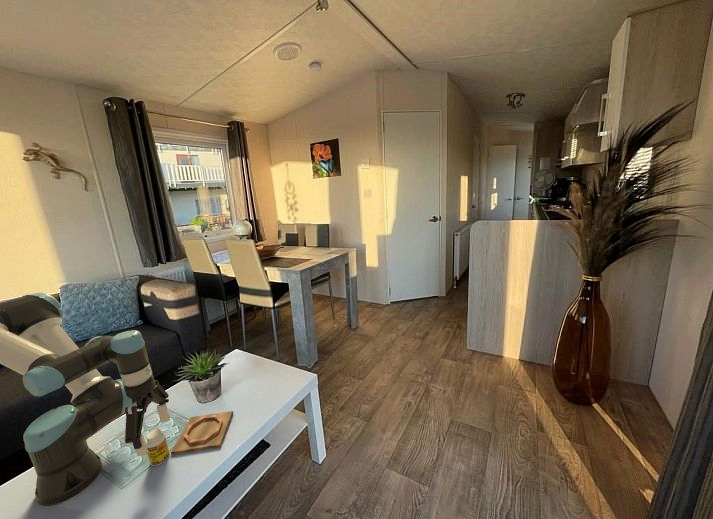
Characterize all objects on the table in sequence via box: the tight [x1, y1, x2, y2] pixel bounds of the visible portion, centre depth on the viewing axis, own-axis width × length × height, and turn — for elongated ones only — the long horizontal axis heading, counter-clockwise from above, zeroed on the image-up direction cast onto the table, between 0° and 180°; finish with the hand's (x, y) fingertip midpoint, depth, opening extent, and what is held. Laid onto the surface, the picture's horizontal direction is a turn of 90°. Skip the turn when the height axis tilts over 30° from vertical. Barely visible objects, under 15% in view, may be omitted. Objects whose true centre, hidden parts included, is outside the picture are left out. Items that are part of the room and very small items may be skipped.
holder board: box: [170, 410, 234, 456], centre depth 108 cm, size 16×16×2 cm
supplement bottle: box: [145, 428, 171, 467], centre depth 97 cm, size 6×6×10 cm
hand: (155, 436), depth 96 cm, fingers open, 13 cm apart
